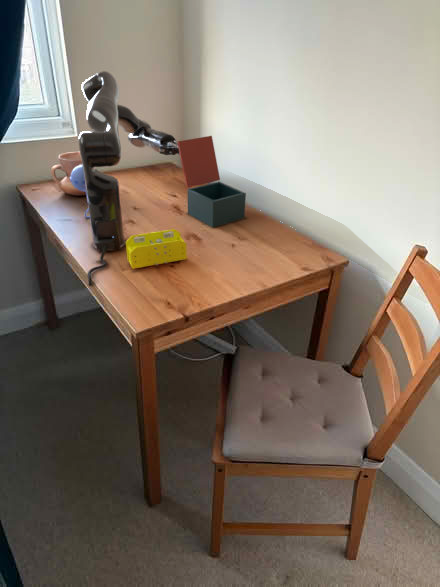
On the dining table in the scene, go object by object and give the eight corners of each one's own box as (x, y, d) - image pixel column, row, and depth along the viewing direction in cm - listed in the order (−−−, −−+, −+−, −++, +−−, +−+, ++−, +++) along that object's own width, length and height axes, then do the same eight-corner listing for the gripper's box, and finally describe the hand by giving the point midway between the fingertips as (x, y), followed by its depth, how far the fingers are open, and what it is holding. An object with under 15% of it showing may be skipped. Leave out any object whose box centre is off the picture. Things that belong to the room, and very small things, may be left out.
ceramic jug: (99, 183, 185) (95, 148, 177) (106, 195, 174) (101, 158, 166) (53, 188, 179) (46, 152, 171) (56, 201, 168) (50, 162, 160)
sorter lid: (211, 135, 158) (210, 136, 159) (178, 141, 151) (176, 141, 152) (220, 180, 163) (218, 180, 163) (188, 187, 155) (186, 187, 156)
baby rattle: (76, 223, 151) (68, 170, 142) (76, 214, 158) (68, 162, 149) (103, 221, 153) (96, 168, 144) (101, 212, 160) (95, 160, 151)
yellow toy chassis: (180, 253, 135) (179, 227, 131) (187, 261, 131) (186, 235, 126) (127, 262, 130) (124, 235, 125) (132, 271, 125) (129, 244, 121)
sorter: (244, 218, 159) (245, 193, 154) (212, 227, 151) (213, 201, 146) (218, 205, 168) (219, 181, 163) (187, 213, 161) (187, 189, 156)
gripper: (145, 134, 167) (171, 145, 156) (176, 130, 174) (202, 139, 163) (147, 155, 171) (172, 166, 160) (176, 150, 178) (202, 160, 167)
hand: (187, 153), depth 161 cm, fingers closed
